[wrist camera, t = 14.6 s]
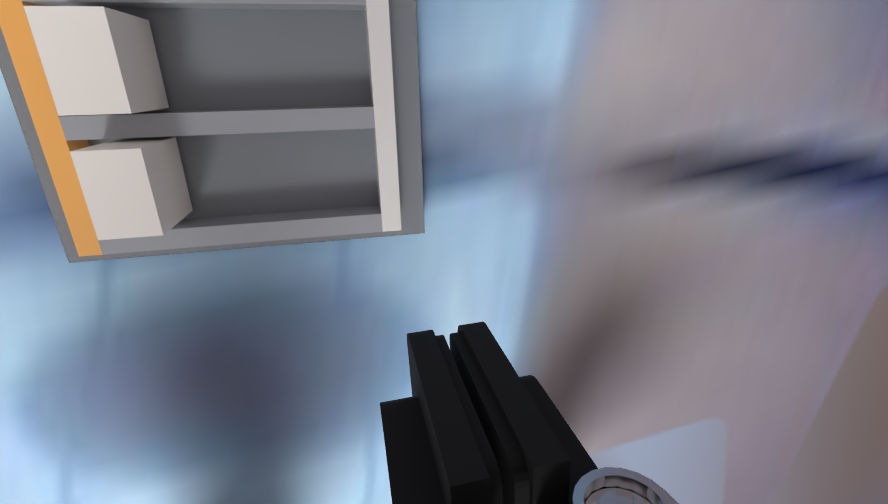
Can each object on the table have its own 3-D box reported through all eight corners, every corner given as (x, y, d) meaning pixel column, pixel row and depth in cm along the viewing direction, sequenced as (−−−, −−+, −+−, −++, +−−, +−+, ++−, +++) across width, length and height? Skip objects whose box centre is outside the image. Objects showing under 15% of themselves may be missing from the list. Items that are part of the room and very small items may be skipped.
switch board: (410, -26, 27) (420, -42, 24) (420, 224, 33) (429, 242, 29) (-9, -35, 23) (-76, -57, 20) (86, 251, 29) (48, 275, 25)
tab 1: (148, 20, 24) (103, 6, 19) (168, 107, 25) (131, 113, 21) (84, 20, 23) (23, 5, 19) (109, 109, 25) (58, 115, 20)
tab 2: (175, 136, 26) (140, 148, 21) (192, 210, 27) (163, 235, 23) (117, 139, 25) (69, 151, 21) (138, 214, 27) (98, 240, 22)
